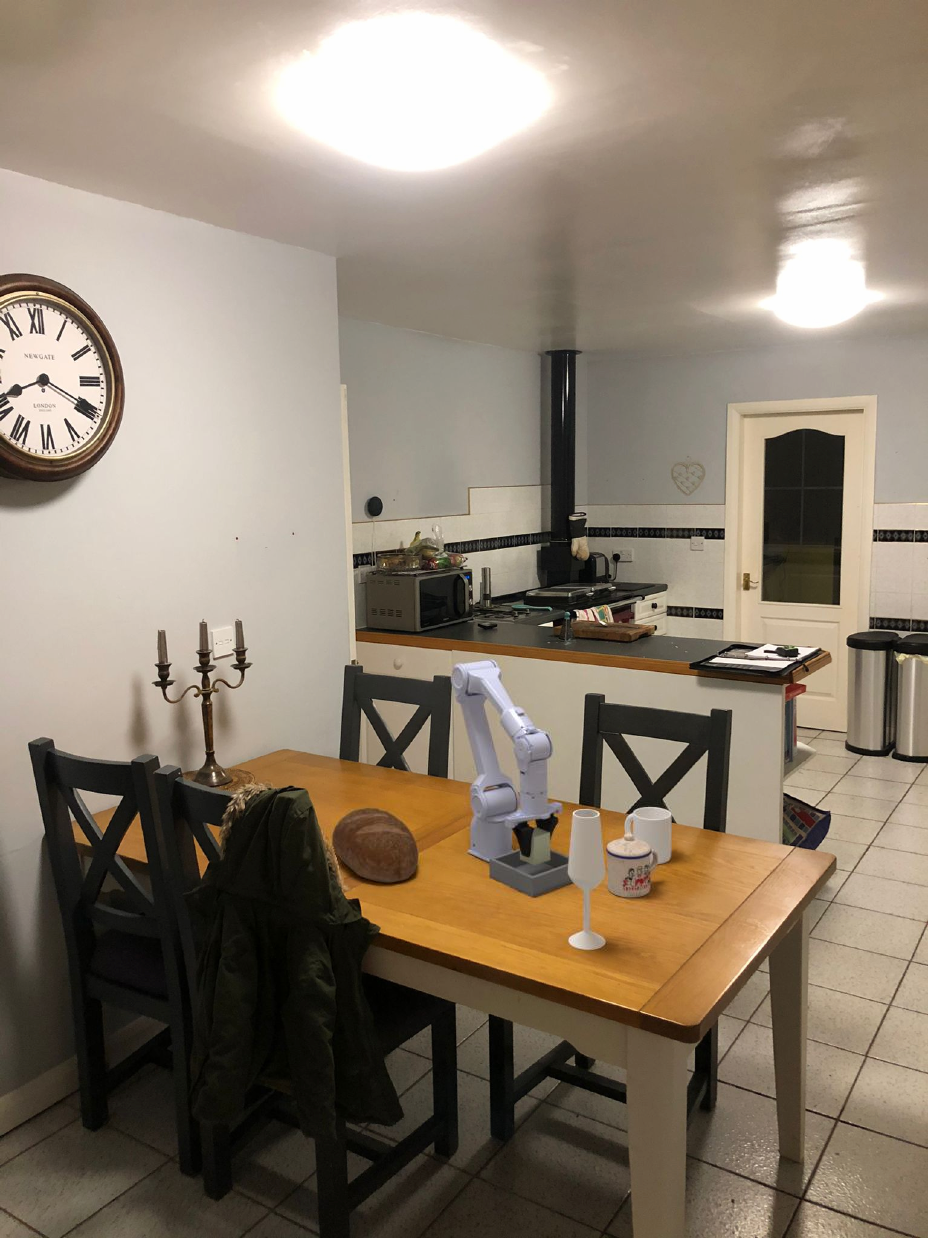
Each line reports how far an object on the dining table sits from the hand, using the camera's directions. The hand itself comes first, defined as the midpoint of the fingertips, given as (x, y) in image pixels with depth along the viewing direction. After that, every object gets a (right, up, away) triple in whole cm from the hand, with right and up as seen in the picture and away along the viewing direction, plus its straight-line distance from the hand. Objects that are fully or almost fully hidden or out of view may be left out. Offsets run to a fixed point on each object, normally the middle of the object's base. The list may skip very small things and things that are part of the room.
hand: (534, 852), depth 200 cm
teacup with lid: (+20, -6, -5) cm, 22 cm away
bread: (-35, -5, +12) cm, 37 cm away
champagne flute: (+7, -9, -28) cm, 30 cm away
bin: (0, -6, +1) cm, 6 cm away
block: (0, -1, 0) cm, 2 cm away
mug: (+26, -4, +12) cm, 28 cm away
